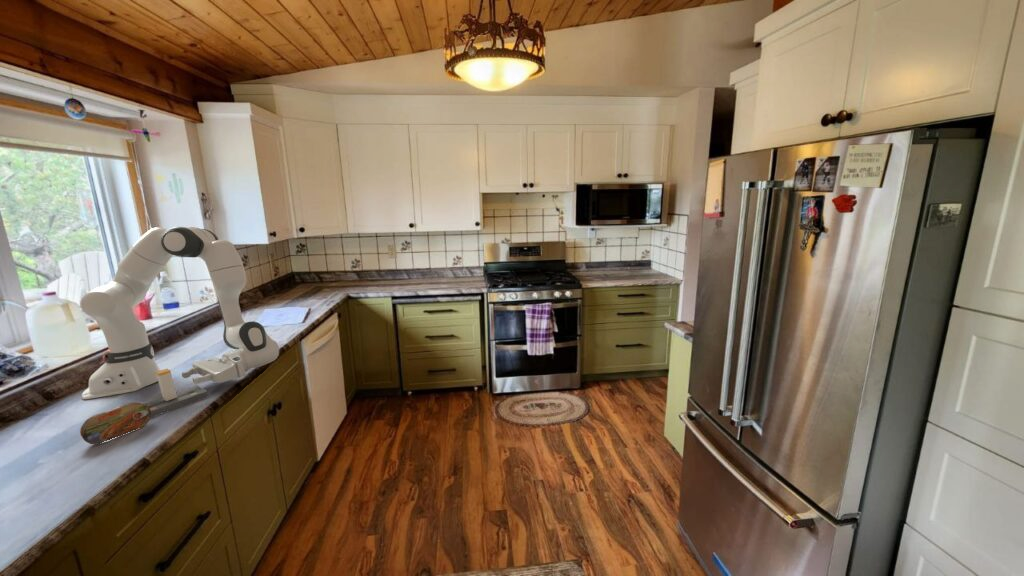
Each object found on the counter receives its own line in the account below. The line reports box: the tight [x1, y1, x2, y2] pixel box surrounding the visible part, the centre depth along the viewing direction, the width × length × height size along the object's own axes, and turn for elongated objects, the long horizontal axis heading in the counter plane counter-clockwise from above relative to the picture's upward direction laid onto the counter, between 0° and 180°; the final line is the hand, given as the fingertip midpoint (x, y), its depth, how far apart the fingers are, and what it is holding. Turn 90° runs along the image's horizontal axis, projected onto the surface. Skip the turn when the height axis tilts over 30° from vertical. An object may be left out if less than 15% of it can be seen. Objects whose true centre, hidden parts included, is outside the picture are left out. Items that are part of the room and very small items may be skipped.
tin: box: [79, 401, 151, 445], centre depth 119 cm, size 15×3×8 cm, turn 148°
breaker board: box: [144, 384, 209, 419], centre depth 136 cm, size 18×9×2 cm, turn 146°
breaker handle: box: [156, 368, 177, 401], centre depth 135 cm, size 3×3×10 cm
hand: (188, 378), depth 140 cm, fingers open, 8 cm apart
